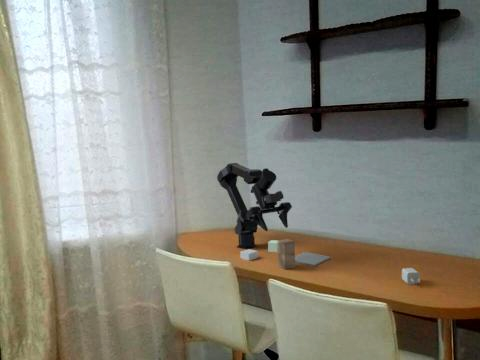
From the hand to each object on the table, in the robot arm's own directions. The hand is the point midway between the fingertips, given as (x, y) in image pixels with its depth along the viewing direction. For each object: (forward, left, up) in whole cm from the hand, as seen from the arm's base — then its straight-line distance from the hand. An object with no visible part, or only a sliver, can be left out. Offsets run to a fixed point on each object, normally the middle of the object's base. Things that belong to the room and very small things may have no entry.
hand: (277, 229), depth 171 cm
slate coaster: (+10, +7, -13) cm, 18 cm away
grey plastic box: (-12, -3, -13) cm, 18 cm away
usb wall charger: (+51, +1, -13) cm, 52 cm away
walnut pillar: (+7, -5, -13) cm, 15 cm away
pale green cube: (-9, +11, -13) cm, 20 cm away
